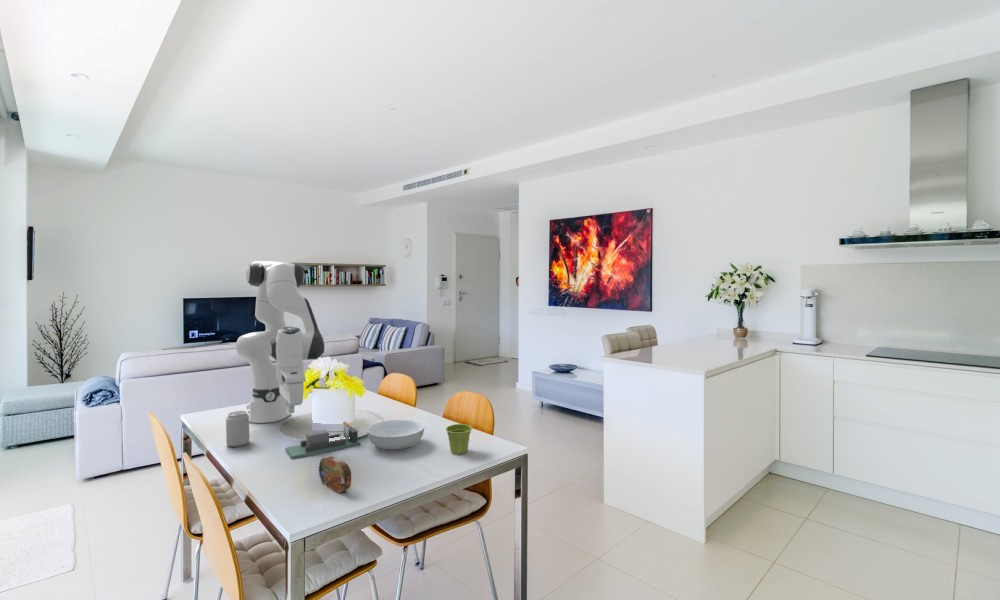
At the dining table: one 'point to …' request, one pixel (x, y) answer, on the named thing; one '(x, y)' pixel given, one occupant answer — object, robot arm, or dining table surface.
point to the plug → (317, 437)
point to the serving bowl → (395, 434)
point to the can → (237, 428)
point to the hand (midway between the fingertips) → (290, 412)
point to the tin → (335, 474)
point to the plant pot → (458, 438)
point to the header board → (325, 444)
